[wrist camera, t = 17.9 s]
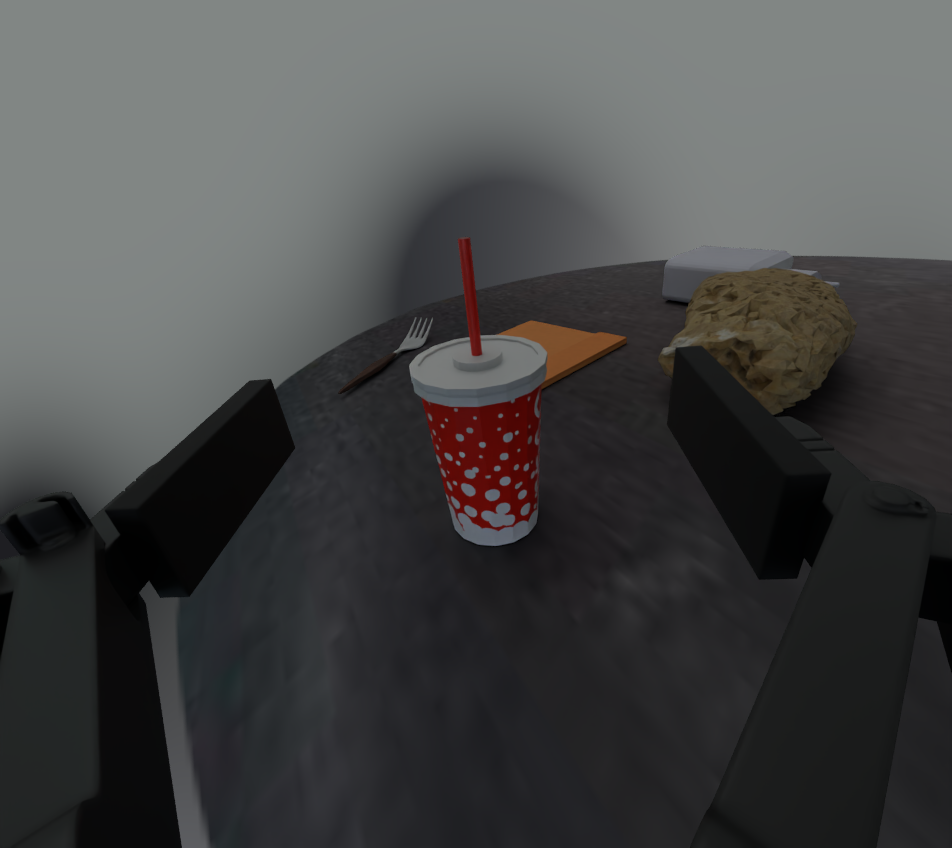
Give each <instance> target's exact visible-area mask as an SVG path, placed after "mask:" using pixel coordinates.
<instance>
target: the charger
mask: <svg viewBox="0 0 952 848" xmlns="http://www.w3.org/2000/svg"><path fill="white" fill-rule="evenodd" d="M793 259H794V258H793V256H791V255H790V254H789V253H787V251H779V250H762V249H747V248H746V249H745V248H729V247H713V246H702V247H699V248H696V249H693V250H690V251H688V252H685V253H682V254H679V255H676V256H674V257H672V258H670V259H669V260H668V261H667V263H666V265H665V271H664V282H663V292H662V297H663V299H666V300H672V301H679V302H685V303H690V300H691V297H692V295H693V293H694V291H695V290H696V289H697V287H698V286H699V285H700V283H701V282H702V281H703V280H705V279H706V278H708V277H710V276H714V275H716V274H721V273H726V272H742V271H756V270H759V269H762V268H768V269H772V268H779V269H787V270H793V271H797V272H801V273H805V274H808V275H811V276H814V277H816V278H818V279H820V280H821V275H820V274H819V272H818V271H806V270H795V269H791V268H792V264H793ZM825 282H826V281H825ZM827 283H829V284H830V285H832V286H833V287H838V286H839V283H837V282H827Z"/></svg>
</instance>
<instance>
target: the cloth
mask: <svg viewBox="0 0 952 848" xmlns="http://www.w3.org/2000/svg"><path fill="white" fill-rule="evenodd" d="M497 335H506V336H514V337H522V338H526V339H528V340H531V341H534V342H537V343H539V344H540V345H541V346H542V347H543V348H544V349H545V350H546V351H547V357H548V359H547V363H546V366H547V373H546V377H545V381H544V382H543V383H541V389H543V388H545V387H547V386H549V385H551V384H552V383H554V382H556V381H558V380H560V379H562V378H563V377H565V376H567V375H569V374H571V373H573V372H574V371H576V370H578V369H580V368H582V367H584V366H585V365H587V364H589V363H591V362H593V361H595V360H596V359H598V358H600V357H602V356H604V355H606V354H607V353H609V352H611V351H613V350H615V349H617V348H618V347H620V346H622V345H624V344H626V340H627V337H623V336H618V335H613V334H608V333H603V332H598V333H596V334H594V333H589V332H584V331H579V330H574V329H570V328H565V327H560V326H555V325H550V324H546V323H541V322H536V321H529V322H526V323H524V324H521V325H519V326H517V327H514V328H512V329H509V330H507V331H505V332H502V333H500V334H497Z"/></svg>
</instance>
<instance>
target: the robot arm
mask: <svg viewBox="0 0 952 848" xmlns="http://www.w3.org/2000/svg"><path fill="white" fill-rule="evenodd" d="M667 425H668V427H669V429H670V430H671V432H672V434H673V435H674V437H675V439H676V440H677V442H678V444H679V445H680V447H681V449H682V450H683V452H684V454H685V456H686V457H687V459H688V461H689V462H690V464H691V466H692V467H693V469H694V471H695V472H696V474H697V476H698V477H699V479H700V481H701V482H702V484H703V486H704V487H705V489H706V491H707V493H708V494H709V496H710V498H711V499H712V501H713V503H714V504H715V506H716V508H717V509H718V511H719V513H720V514H721V516H722V518H723V519H724V521H725V523H726V525H727V526H728V528H729V530H730V531H731V533H732V535H733V536H734V538H735V540H736V541H737V543H738V545H739V546H740V548H741V550H742V551H743V553H744V555H745V556H746V558H747V560H748V562H749V563H750V565H751V567H752V568H753V570H754V572H755V573H756V575H757V577H758V578H759V580H761V579H794V578H797V577H798V574H799V571H800V568H801V565H802V562H803V559H804V558H805V559H806V561H807V562H808V563H809V565H810V566H811V567H812V569H811V571H810V574H809V576H808V578H807V581H806V583H805V585H804V588H803V590H802V592H801V595H800V597H799V599H798V602H797V604H796V607H795V609H794V611H793V614H792V616H791V618H790V621H789V623H788V625H787V628H786V630H785V632H784V635H783V637H782V640H781V642H780V644H779V647H778V649H777V651H776V654H775V656H774V658H773V661H772V663H771V665H770V668H769V670H768V673H767V675H766V677H765V680H764V682H763V684H762V687H761V689H760V691H759V694H758V696H757V698H756V701H755V703H754V705H753V708H752V710H751V713H750V715H749V717H748V720H747V722H746V724H745V727H744V729H743V731H742V734H741V736H740V738H739V741H738V743H737V746H736V748H735V750H734V753H733V755H732V757H731V760H730V762H729V764H728V767H727V769H726V771H725V774H724V776H723V779H722V781H721V783H720V786H719V788H718V790H717V793H716V795H715V797H714V799H713V802H712V804H711V806H710V807H709V809H708V810H707V811H706V813H705V815H704V817H703V819H702V821H701V823H700V826H699V828H698V830H697V832H696V835H695V837H694V839H693V842H692V844H691V846H690V848H876V847H877V841H878V836H879V830H880V825H881V819H882V814H883V808H884V803H885V797H886V792H887V786H888V781H889V776H890V770H891V765H892V759H893V754H894V748H895V743H896V737H897V732H898V726H899V721H900V715H901V710H902V704H903V699H904V693H905V688H906V682H907V677H908V672H909V666H910V661H911V655H912V650H913V644H914V639H915V633H916V628H917V622H918V617H919V618H924V619H928V620H933V621H937V623H938V627H939V630H940V634H941V637H942V641H943V644H944V648H945V651H946V655H947V658H948V662H949V665H950V669H951V672H952V514H948V513H941V512H935V508H934V507H933V506H932V505H931V504H930V503H929V502H928V501H927V500H926V499H925V498H923V497H922V496H920V495H918V494H916V493H915V492H913V491H911V490H908V489H906V488H903V487H900V486H897V485H894V484H889V483H884V482H879V481H870V480H869V479H868V478H867V477H866V476H865V475H864V474H863V473H862V472H860V471H859V470H858V469H857V468H856V467H855V466H854V465H853V464H852V463H850V462H849V461H848V460H847V459H846V458H845V457H844V456H843V455H841V454H840V453H839V452H838V451H835V450H834V447H833V446H831V445H830V444H829V443H828V442H827V441H826V440H824V441H823V437H821V436H820V435H819V434H818V433H817V432H816V431H815V430H814V429H813V428H811V427H810V426H809V425H807V424H805V423H803V422H800V421H798V420H796V419H794V418H792V417H790V416H784V417H774V416H773V415H772V414H771V413H770V412H769V411H768V410H767V409H766V408H765V407H764V406H763V405H762V404H761V403H760V402H759V401H758V400H757V399H756V398H755V397H754V396H753V395H751V394H750V393H749V392H748V391H747V390H746V389H745V388H744V387H743V386H742V385H741V384H740V383H739V382H738V381H737V380H736V379H735V378H734V377H733V376H732V375H731V374H730V373H729V372H728V371H727V370H726V369H725V368H724V367H723V366H722V365H721V364H720V363H719V362H718V361H717V360H716V359H715V358H714V357H713V356H712V355H711V354H710V353H709V352H708V351H707V350H706V349H705V348H704V347H703V346H702V345H700V346H687V347H676V349H675V358H674V367H673V376H672V385H671V394H670V403H669V412H668V421H667ZM294 449H295V446H294V443H293V440H292V437H291V434H290V431H289V429H288V426H287V423H286V420H285V417H284V414H283V411H282V409H281V406H280V403H279V400H278V397H277V394H276V392H275V389H274V386H273V383H272V381H271V379H267V380H254V381H249V382H248V383H246V384H245V385H244V386H243V387H242V388H241V389H240V390H239V391H238V392H236V393H235V394H234V395H233V396H232V397H231V398H230V399H229V400H227V401H226V402H225V403H224V404H223V405H222V406H221V407H220V408H218V410H216V411H215V412H214V413H213V414H212V415H211V416H209V417H208V418H207V419H206V420H205V421H204V422H203V423H202V424H200V425H199V426H198V427H197V428H196V429H195V430H194V431H193V432H192V433H190V434H189V435H188V436H187V437H186V438H185V439H184V440H183V441H181V443H179V444H178V445H177V446H176V447H175V448H174V449H172V450H171V451H170V452H169V453H168V454H167V455H166V456H165V457H163V458H162V459H161V460H160V461H159V462H158V463H156V464H154V465H152V466H151V467H149V468H148V469H147V470H146V471H145V472H143V474H141V475H140V476H139V477H138V478H137V479H136V481H134V482H132V483H131V484H130V485H129V486H128V487H127V488H126V489H125V491H122V492H121V493H120V494H119V495H117V496H116V497H115V498H114V499H113V500H112V501H111V502H110V503H108V504H107V505H106V506H105V507H104V508H103V509H102V510H101V511H99V512H98V513H97V514H96V515H95V516H94V517H93V518H91V519H89V518H88V516H87V515H86V514H85V512H84V510H83V509H82V507H81V506H80V504H79V503H78V502H77V500H76V498H75V497H74V496H73V494H72V493H69V492H56V493H51V494H47V495H44V496H41V497H38V498H35V499H33V500H31V501H28V502H26V503H24V504H22V505H20V506H19V507H17V508H15V509H14V510H12V511H11V512H9V513H8V514H7V515H6V516H5V517H3V518H2V519H1V520H0V530H1V531H2V533H4V535H5V536H6V538H7V539H8V540H9V541H10V543H11V544H12V545H13V546H14V547H15V549H16V550H17V551H18V552H19V554H20V555H19V556H15V557H11V558H7V559H3V560H0V848H182V846H181V839H180V832H179V825H178V819H177V812H176V805H175V799H174V791H173V785H172V778H171V772H170V764H169V758H168V751H167V744H166V738H165V731H164V724H163V717H162V710H161V703H160V697H159V690H158V683H157V676H156V670H155V663H154V657H153V650H152V643H151V636H150V629H149V622H148V617H147V616H148V615H147V609H146V604H145V602H144V600H143V598H142V597H141V596H140V594H139V592H140V591H141V589H142V588H143V587H144V586H145V585H146V583H147V582H148V581H150V582H151V584H152V586H153V587H154V589H155V590H156V592H157V593H158V595H159V596H160V598H163V597H190V595H191V594H192V592H193V591H194V590H195V588H196V587H197V585H198V584H199V583H200V581H201V580H202V578H203V577H204V576H205V574H206V573H207V571H208V570H209V569H210V567H211V566H212V564H213V563H214V562H215V560H216V559H217V557H218V556H219V555H220V553H221V552H222V550H223V549H224V547H225V546H226V545H227V543H228V542H229V540H230V539H231V538H232V536H233V535H234V533H235V532H236V531H237V529H238V528H239V526H240V525H241V524H242V522H243V521H244V519H245V518H246V517H247V515H248V514H249V512H250V511H251V510H252V508H253V507H254V505H255V504H256V502H257V501H258V500H259V498H260V497H261V495H262V494H263V493H264V491H265V490H266V488H267V487H268V486H269V484H270V483H271V481H272V480H273V479H274V477H275V476H276V474H277V473H278V472H279V470H280V469H281V467H282V466H283V465H284V463H285V462H286V460H287V459H288V457H289V456H290V455H291V453H292V452H293V450H294Z"/></svg>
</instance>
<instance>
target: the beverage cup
mask: <svg viewBox="0 0 952 848" xmlns="http://www.w3.org/2000/svg"><path fill="white" fill-rule="evenodd" d="M458 243H459V252H460V260H461V269H462V278H463V286H464V294H465V303H466V311H467V320H468V328H469V337H468V338H461V339H455V340H452V341H449V342H446V343H442V344H439V345H436V346H433V347H431V348H430V349H428V350H426V351H424V352H422V353H421V354H419V355H417V356H416V358H415V359H414V360H413V361H412V363H411V364H410V365H409V368H410V375H411V380H412V382H413V385H414V392H415V393H416V394H418V395H419V396H421V397H422V401H423V405H424V409H425V413H426V417H427V421H428V425H429V429H430V433H431V437H432V441H433V445H434V449H435V453H436V456H437V460H438V464H439V468H440V472H441V476H442V480H443V484H444V488H445V492H446V496H447V500H448V504H449V508H450V512H451V516H452V520H453V524H454V528H455V530H456V531H457V532H458V533H459V534H460V535H461V536H462V537H463V538H464V539H466V540H468V541H471V542H473V543H475V544H478V545H488V546H499V545H504V544H508V543H513V542H515V541H517V540H519V539H521V538H522V537H524V536H526V535H528V534H529V532H530V531H531V530H532V529H533V527H534V526H535V525H536V524H537V517H538V503H539V462H540V422H541V383H543V382H544V381H545V377H546V373H547V366H546V363H547V359H548V357H547V351H546V350H545V349H544V348H543V347H542V346H541V345H540V344H539V343H537V342H534V341H531V340H528V339H526V338H522V337H514V336H506V335H485V336H480V327H479V317H478V308H477V299H476V289H475V281H474V271H473V261H472V252H471V243H470V237H462V238H458Z"/></svg>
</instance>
